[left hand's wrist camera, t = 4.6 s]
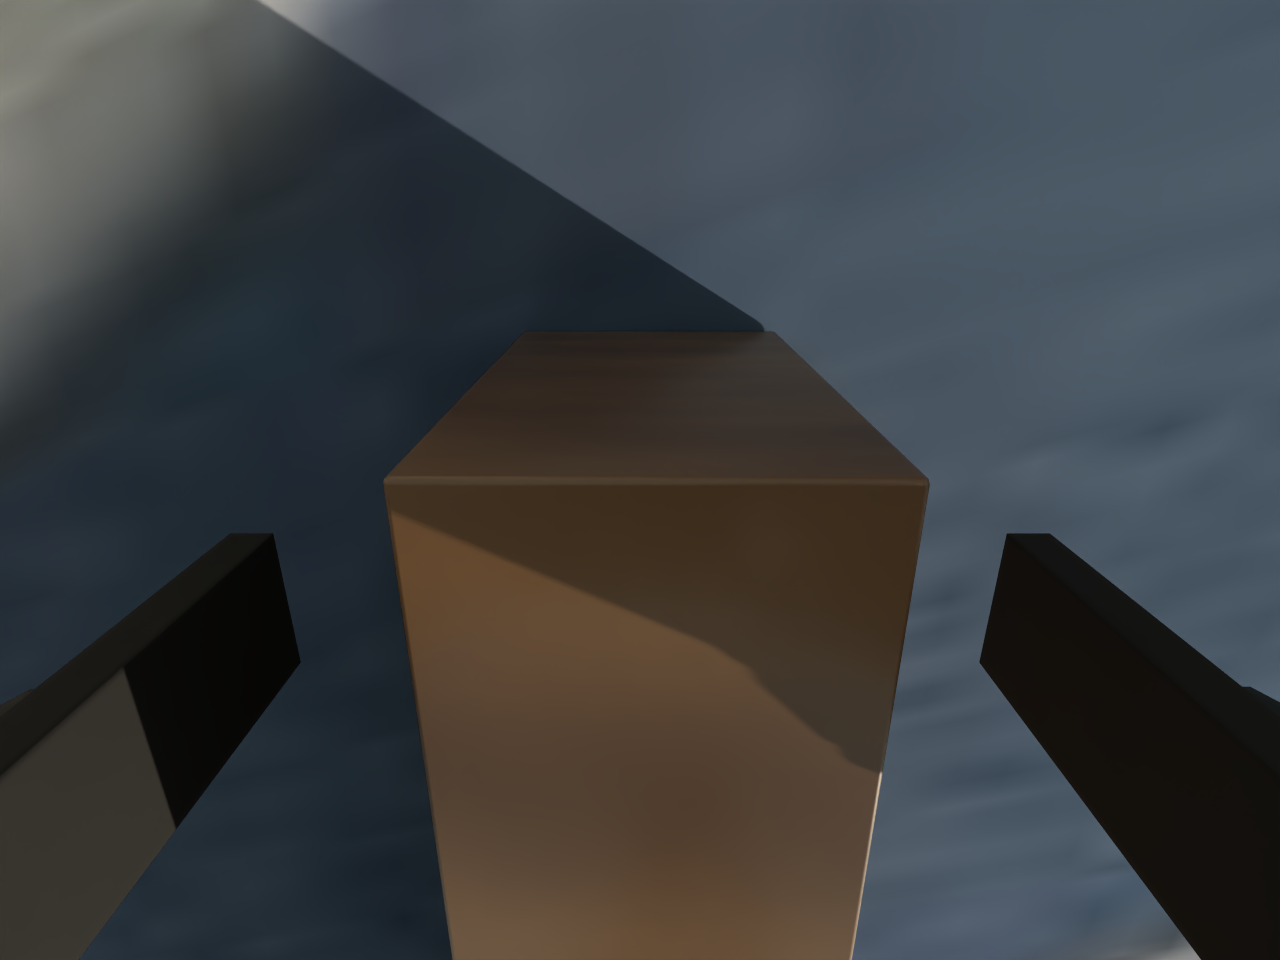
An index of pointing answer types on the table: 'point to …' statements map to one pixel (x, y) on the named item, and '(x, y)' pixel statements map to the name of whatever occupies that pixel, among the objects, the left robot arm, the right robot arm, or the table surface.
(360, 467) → the table surface
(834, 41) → the table surface
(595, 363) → the post
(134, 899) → the table surface
